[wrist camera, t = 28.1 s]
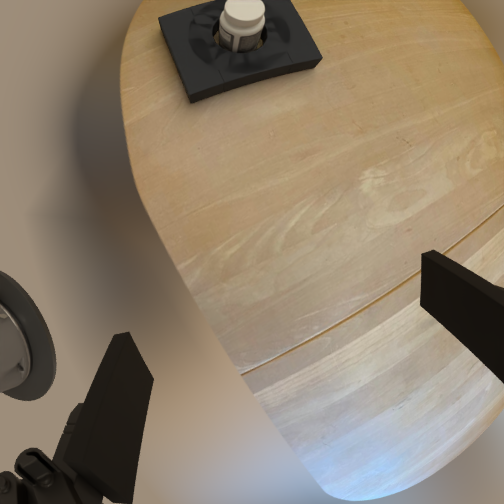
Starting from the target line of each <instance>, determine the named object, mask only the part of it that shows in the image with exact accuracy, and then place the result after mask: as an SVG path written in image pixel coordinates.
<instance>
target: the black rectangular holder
mask: <svg viewBox="0 0 504 504" xmlns="http://www.w3.org/2000/svg"><path fill="white" fill-rule="evenodd" d="M226 1H227V0H214V1H210V2H206V3H203V4H199V5H196V6H192V7H189V8H186V9H182V10H179V11H176V12H173V13H170V14H167V15H164V16H162V17H159V18H158V20H159V24H160V27H161V31H162V33H163V36H164V38H165V41H166V43H167V46H168V48H169V51H170V53H171V56H172V58H173V60H174V63H175V65H176V68H177V70H178V73H179V75H180V78H181V80H182V83H183V85H184V88H185V90H186V93H187V95H188V98H189V100H190V103H194V102H197V101H199V100H202V99H205V98H208V97H210V96H213V95H216V94H219V93H222V92H225V91H228V90H231V89H234V88H237V87H241V86H244V85H247V84H250V83H254V82H257V81H261V80H264V79H268V78H272V77H276V76H279V75H283V74H288V73H292V72H296V71H300V70H305V69H310V68H314V67H316V65H317V64H318V63H319V62H320V61H321V60H322V58H323V57H322V55H321V54H320V52H319V50H318V48H317V46H316V44H315V42H314V40H313V39H312V37H311V35H310V33H309V31H308V30H307V28H306V26H305V24H304V22H303V21H302V19H301V17H300V16H299V14H298V12H297V11H296V9H295V7H294V6H293V4H292V2H291V1H290V0H261V1H262V2H263V4H264V6H265V12H264V17H265V24H264V27H263V30H262V32H261V38H262V40H263V46H261V47H260V48H258V49H257V50H256V51H253V52H249V53H233V52H230V51H227V50H224V49H223V48H221V47H220V46H219V45H218V44H217V43H216V42H215V40H214V38H213V37H214V35H215V34H216V32H217V31H219V26H220V16H221V13H222V12H223V11H224V8H225V3H226Z"/></svg>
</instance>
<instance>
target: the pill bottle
mask: <svg viewBox="0 0 504 504" xmlns="http://www.w3.org/2000/svg"><path fill="white" fill-rule="evenodd" d="M264 12H265V6H264V4H263V2H262V1H261V0H227V1H226V3H225V8H224V11H223V12H222V13H221V16H220V26H219V46H220V47H221V48H223V49H224V50H227V51H230V52H233V53H249V52H253V51H255V50H256V48H257V45H258V42H259V39H260V36H261V32H262V30H263V27H264V24H265V17H264Z"/></svg>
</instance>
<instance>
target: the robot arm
mask: <svg viewBox="0 0 504 504" xmlns="http://www.w3.org/2000/svg"><path fill="white" fill-rule="evenodd" d="M420 306H421V307H422V308H424V309H425V310H426V311H427V312H428V313H429V314H430V315H432V316H433V317H434V318H435V319H436V320H437V321H438V322H439V323H441V324H442V325H443V326H444V327H445V328H446V329H447V330H448V331H449V332H451V333H452V334H453V335H454V336H455V337H456V338H457V339H458V340H459V341H460V342H461V343H462V344H464V345H465V346H466V347H467V348H468V349H469V350H470V351H471V352H472V353H473V354H474V355H475V356H476V357H477V358H478V359H479V360H480V361H481V362H482V363H483V364H484V365H485V366H487V367H488V368H489V369H490V370H491V371H492V372H493V373H494V374H495V375H496V376H497V377H498V378H499V379H500V380H501V381H502V382H503V383H504V288H502V287H499V286H496V285H493V284H492V283H490V282H488V281H487V280H485V279H483V278H482V277H480V276H479V275H477V274H475V273H474V272H472V271H470V270H469V269H467V268H465V267H463V266H462V265H460V264H458V263H457V262H455V261H453V260H451V259H450V258H448V257H446V256H444V255H442V254H441V253H439V252H437V251H435V250H431V251H428V252H425V253H422V254H421V296H420ZM32 365H33V356H32V350H31V346H30V342H29V339H28V337H27V334H26V332H25V330H24V328H23V326H22V324H21V323H20V321H19V320H18V318H17V317H16V315H15V314H14V313H13V311H12V310H11V309H10V308H9V307H8V306H7V305H6V304H5V303H4V302H2V301H1V300H0V392H3V391H6V390H9V389H11V388H14V387H17V386H18V385H20V384H21V383H23V382H24V381H25V380H26V378H27V377H28V376H29V375H30V373H31V370H32ZM153 381H154V378H153V377H152V375H151V373H150V371H149V369H148V367H147V366H146V364H145V362H144V360H143V358H142V357H141V354H140V352H139V351H138V348H137V346H136V345H135V343H134V341H133V339H132V336H131V335H130V333H129V332H125V333H120V334H115V335H114V336H113V338H112V340H111V342H110V344H109V346H108V349H107V351H106V353H105V355H104V357H103V359H102V362H101V364H100V366H99V368H98V371H97V373H96V375H95V378H94V380H93V382H92V384H91V387H90V389H89V392H88V394H87V396H86V399H85V401H84V403H79V404H78V405H77V406H76V407H75V408H74V410H73V411H72V412H71V413H70V416H69V418H68V421H67V426H65V428H64V431H63V433H64V434H62V436H61V438H60V441H59V443H58V446H57V449H56V452H55V454H54V457H53V460H52V461H51V460H50V459H49V458H48V457H47V456H46V455H45V454H44V453H43V452H42V451H41V450H39V449H38V448H29V449H26V450H24V451H23V452H22V453H21V454H20V455H19V456H18V458H17V459H16V462H15V465H14V468H15V472H16V473H17V474H18V475H19V476H20V477H22V478H23V479H18V477H16V476H15V475H14V474H13V473H11V472H9V471H4V472H2V473H0V504H103V503H102V500H103V496H105V497H106V498H107V499H109V500H110V501H111V502H113V503H122V504H132V502H133V494H134V486H135V480H136V473H137V467H138V461H139V455H140V449H141V443H142V437H143V431H144V426H145V421H146V415H147V410H148V405H149V400H150V395H151V390H152V386H153Z"/></svg>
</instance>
